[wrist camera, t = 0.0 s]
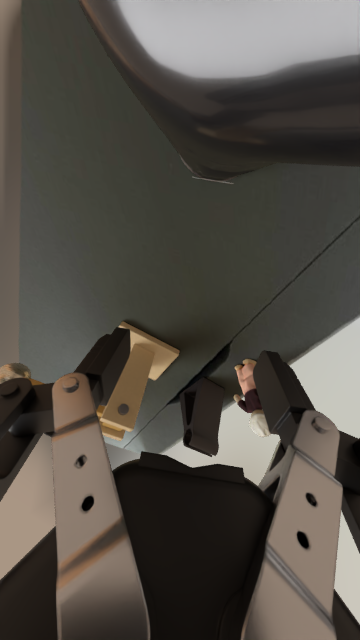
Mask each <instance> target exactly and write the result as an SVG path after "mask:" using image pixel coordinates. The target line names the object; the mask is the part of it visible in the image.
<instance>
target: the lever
mask: <svg viewBox="0 0 360 640" xmlns="http://www.w3.org/2000/svg"><path fill="white" fill-rule="evenodd" d="M13 378H27V379H29V380H30V381H31V383H32V385H40V384H44V383H41V382H39V381H36V380H34V379H31V372H30V369H29V368H28V367H27V366H25V365H23V364H20V363H11V364H7V365H5V366H3V367H1V368H0V384H1V383H3V382H5V381H7V380H10V379H13ZM104 409H105V407H104V406H101V405H99V407H98V409H97V411H96V412H97V415H98V416H100V417H101V416H102V414H103V411H104ZM102 425H103V426H105V427H108V428H111V429H114V430H117V431H119V432H120V431H121V430H122V429H121V428H118V427H116V426H113V425H110V424H107V423H105V422H103V423H102Z"/></svg>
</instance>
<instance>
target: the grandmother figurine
mask: <svg viewBox="0 0 360 640" xmlns="http://www.w3.org/2000/svg"><path fill="white" fill-rule="evenodd" d="M243 364H244V365H245V366H244V367H243V366H242V365H237V366H235V369H236V371H237V375H238V379H239V383H240V385H241V388H242V391H243V393H244V397H245V401H243V400H242V399H241V398H240V397H239V395H237V394H235V395H234V399H235V400H236V402H237V403H238V405H239V407H241V408H242V409H243V410H244V411H245V412H247V413H252V414H251V418H250V420H249V422H250V423H249V425H250V427H251V428H252V430H253V431H254V432H255V433H256V435H258V436H260V437H266V436H269V435H270V434H271V433H270V432H269V429H268V425H267V422H266V419H265V415H264V412H263V409H262V406H261V402H260V399H259V396H258V393H257V389H256V386H255V383H254V379H253V369H254V367H255V365H256V361H254V360H251V359H245V360H244V361H243Z"/></svg>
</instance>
